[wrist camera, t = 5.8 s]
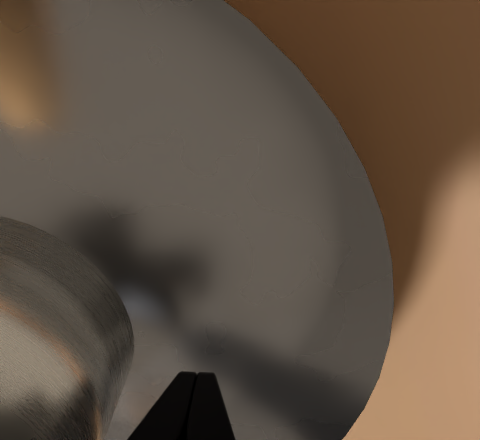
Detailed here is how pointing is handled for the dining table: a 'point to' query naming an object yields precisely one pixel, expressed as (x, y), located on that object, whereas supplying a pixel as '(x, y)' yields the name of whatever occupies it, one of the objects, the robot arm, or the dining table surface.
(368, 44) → the dining table surface
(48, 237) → the cover
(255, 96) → the platter
